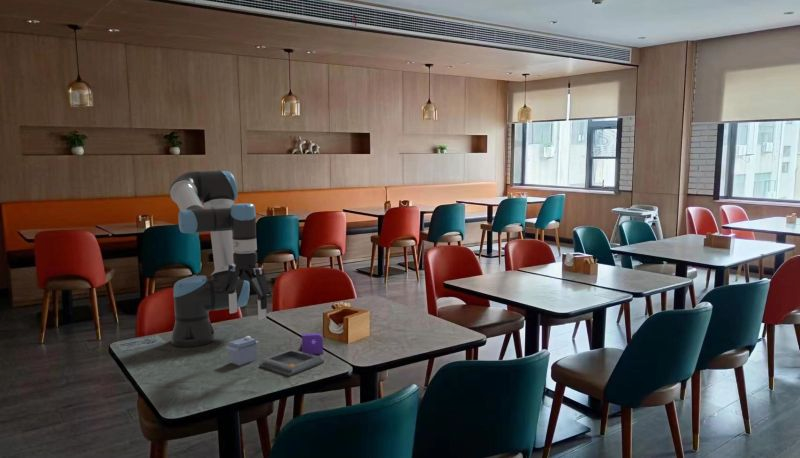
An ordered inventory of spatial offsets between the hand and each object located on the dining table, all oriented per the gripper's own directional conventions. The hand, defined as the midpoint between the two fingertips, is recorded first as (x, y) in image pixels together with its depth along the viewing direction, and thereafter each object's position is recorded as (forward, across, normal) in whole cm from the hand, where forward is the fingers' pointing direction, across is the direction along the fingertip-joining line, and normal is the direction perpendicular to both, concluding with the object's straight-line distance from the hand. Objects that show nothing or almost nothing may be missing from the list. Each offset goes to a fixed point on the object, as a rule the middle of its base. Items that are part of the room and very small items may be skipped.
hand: (247, 315), depth 197 cm
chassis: (+15, +15, +4) cm, 22 cm away
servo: (+15, -1, -2) cm, 15 cm away
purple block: (+16, +10, +20) cm, 27 cm away
